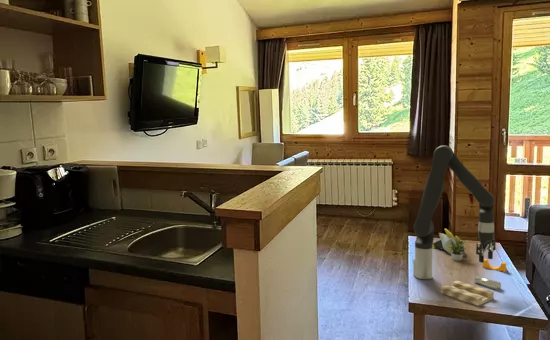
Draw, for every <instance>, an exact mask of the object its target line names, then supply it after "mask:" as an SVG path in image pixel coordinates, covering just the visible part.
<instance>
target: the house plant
mask: <svg viewBox="0 0 550 340" xmlns="http://www.w3.org/2000/svg"><path fill="white" fill-rule="evenodd" d="M458 238H459V239H458V241H457V240H456V245H455V242H454V243H453V241H452V240H451V239H449V240H450V241H451V243H452V244H451V243H450V242H449V241H448V242H449V243H450V244H451V245H452V247H447V248H451V249H452V250H453V252H451V254H450V257H451V259H452V260H453V261H457V262H458V261H463V259H464V258H463V257H464V256H463V253H462V252H460V251H461V250H462V249H464V250H466V245H467V244H466V243H467V242H468V239H467V240H463V242H462V243H460V240H461V238H460V237H459V236H458ZM455 239H456V238H455ZM460 244H461V245H460ZM454 245H455V246H454ZM459 245H460V246H459Z"/></svg>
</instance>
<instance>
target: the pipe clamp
mask: <svg viewBox="0 0 550 340" xmlns="http://www.w3.org/2000/svg"><path fill="white" fill-rule="evenodd" d="M488 260H489V259H488V258H487V259H486V258H484V262H483V263H482V268H485V269H489V270H494V271H496V272H497V271H498V272H503V273H505V272H506V271H508V267H507V262H506V261H505V262H504V261H503V262H501V263H500V266H492V265H491V264H490V263H489V261H488Z"/></svg>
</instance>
